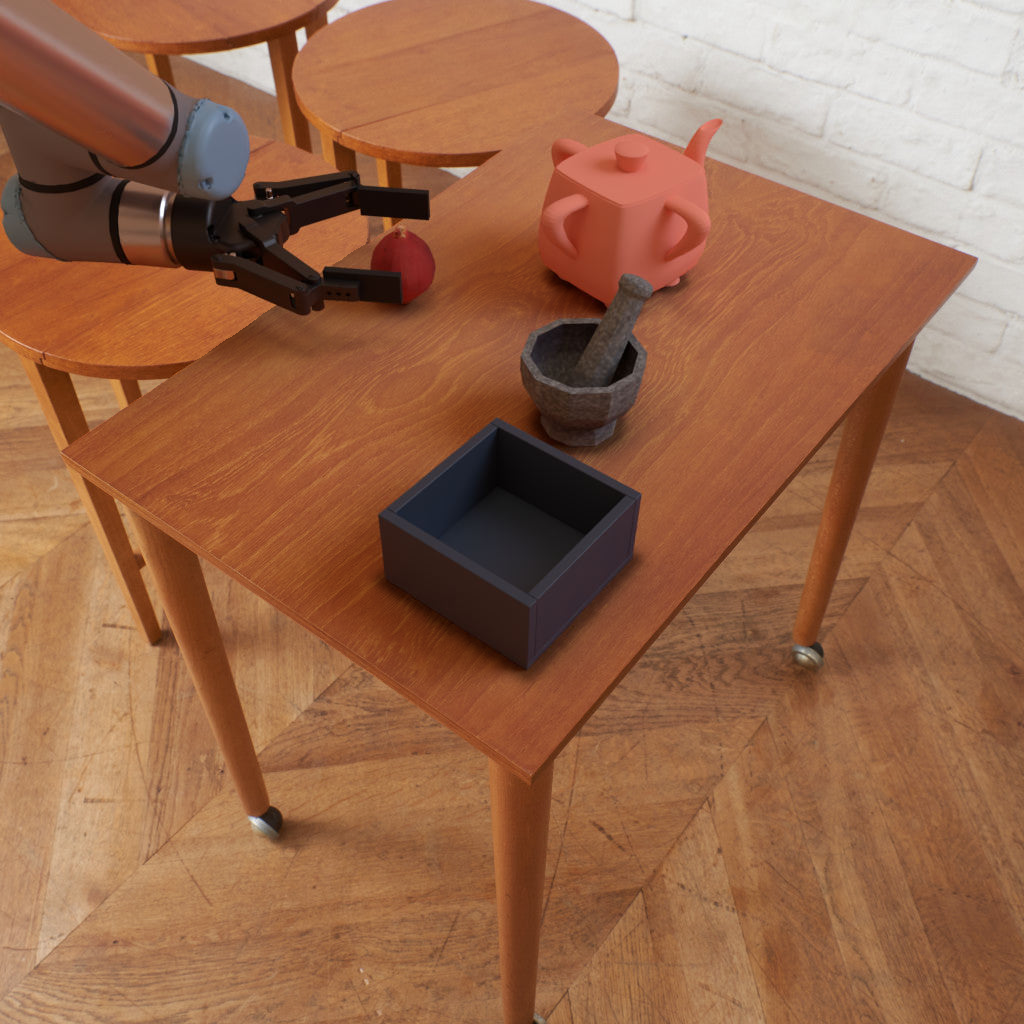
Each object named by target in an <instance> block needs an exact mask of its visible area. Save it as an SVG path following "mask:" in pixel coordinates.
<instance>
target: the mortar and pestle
mask: <svg viewBox="0 0 1024 1024" xmlns="http://www.w3.org/2000/svg"><path fill="white" fill-rule="evenodd" d="M618 285H619V289H618V291H617V293H616V295H615V297H614V298H613V300H612V302H611V304H610V306H609V308H606V311H605V313H604V314H603V317H602V319H601V318H598V317H579V318H575V317H574V318H558V319H556V320H554V321H552V322H549V323H547V324H545V325H544V326H542V327H539V328H537V329H535V330H533V331H531V332H530V333H529V334H528V337H527V339H526V342H525V344H524V347H523V349H522V352H521V353H520V357H519V359H520V363H519V370H520V376H521V383H522V386H523V387H524V389H525V391H526V392H527V394H528V396H529V397H530V399H531V400H532V402H533V404H534V405H535V407H536V408H537V410H538V412H539V413H540V415H541V416H540V424H541V426H542V427H543V429H544V430H545V432H546V434H547V436H548V437H549V438H550V439H552V440H555V441H556V442H559V443H561V444H564V445H566V446H567V447H570V448H571V447H573V448H574V447H595V446H597V445H598V444H601V443H602V442H604V441H606V440H607V439H610V438H611V437H613V435H614V431H615V428H616V425H617V422H618V419H620V418H621V417H624V416H625V415H626V414H627V413H628V412H629V411H630V410H631V409H632V408H633V407H634V406H635V403H636V402H637V401H636V400H637V399H638V395H639V393H640V388H641V385H642V383H643V377H644V374H645V370H646V367H647V360H648V351H647V350H646V349H645V347H644V346H643V345H642V344H641V342H640V341H639V340H638V338H637V337H636V336H635V335H634V334H633V330H634V328H635V325H636V324H637V323H636V322H637V321H638V319H639V316H640V314H641V311H642V309H643V306H644V304H645V302H646V301H648V300H649V299H651V296H652V295H653V286H652V285H651V284H650V283H649V282H647V281H646V280H645V279H643V278H641V277H639V276H636V275H633V274H628V273H625V274H623V275H622V276H621V278H620V280H619V282H618Z"/></svg>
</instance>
